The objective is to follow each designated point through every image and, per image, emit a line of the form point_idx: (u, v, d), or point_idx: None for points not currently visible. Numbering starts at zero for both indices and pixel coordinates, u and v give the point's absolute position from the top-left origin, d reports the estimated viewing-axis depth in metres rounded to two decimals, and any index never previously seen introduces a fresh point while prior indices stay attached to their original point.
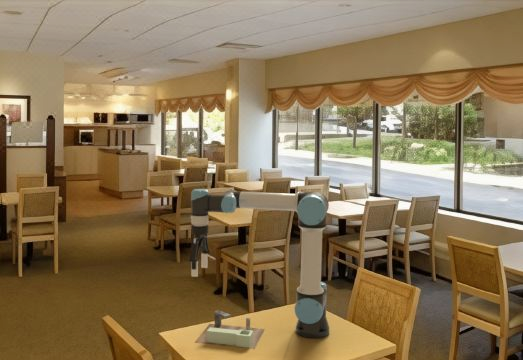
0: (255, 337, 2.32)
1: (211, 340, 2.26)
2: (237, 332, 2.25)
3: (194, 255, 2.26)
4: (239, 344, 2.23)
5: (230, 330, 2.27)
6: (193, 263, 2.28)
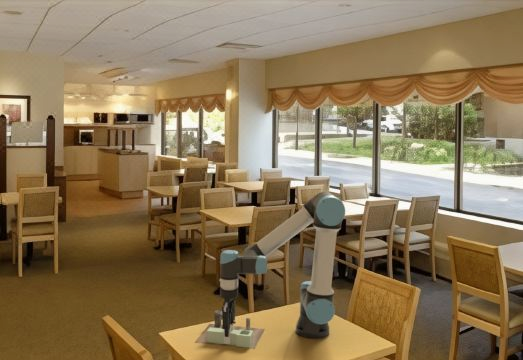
0: (255, 337, 2.32)
1: (211, 340, 2.26)
2: (237, 332, 2.25)
3: (226, 324, 2.20)
4: (239, 344, 2.23)
5: None
6: (226, 330, 2.22)
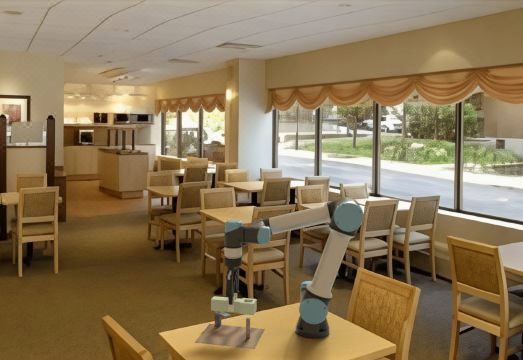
0: (255, 337, 2.32)
1: (215, 309, 2.31)
2: (241, 300, 2.30)
3: (230, 291, 2.24)
4: (243, 312, 2.27)
5: None
6: (230, 298, 2.27)
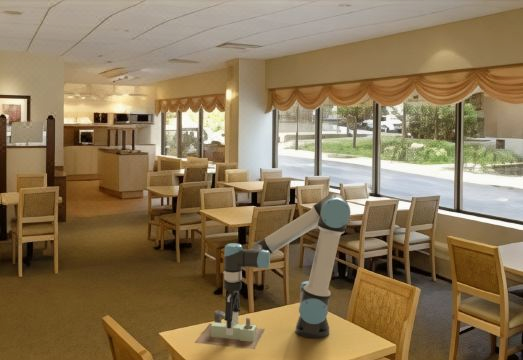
0: None
1: (215, 335, 2.32)
2: (241, 327, 2.31)
3: (229, 315, 2.24)
4: (243, 338, 2.29)
5: (234, 325, 2.33)
6: (228, 322, 2.26)
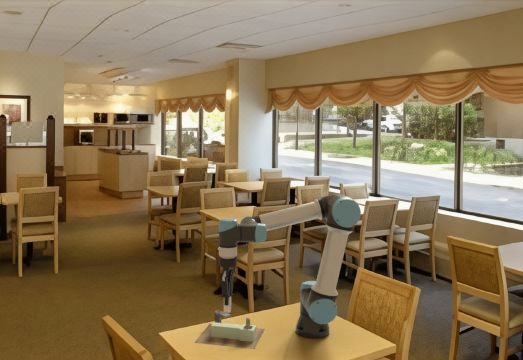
0: None
1: (215, 335, 2.32)
2: (241, 327, 2.31)
3: (226, 292, 2.17)
4: (243, 338, 2.29)
5: (234, 325, 2.33)
6: (226, 299, 2.20)
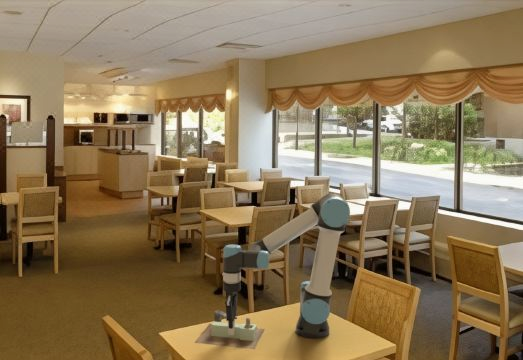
0: None
1: (215, 334, 2.33)
2: (241, 326, 2.32)
3: (230, 316, 2.25)
4: (243, 337, 2.29)
5: None
6: (230, 322, 2.28)
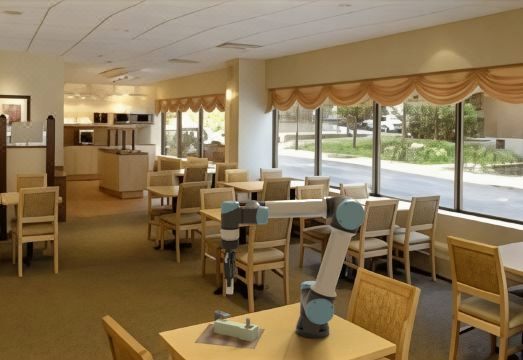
0: None
1: (218, 331, 2.36)
2: (242, 325, 2.33)
3: (228, 274, 2.20)
4: (242, 337, 2.30)
5: (236, 323, 2.35)
6: (228, 280, 2.22)
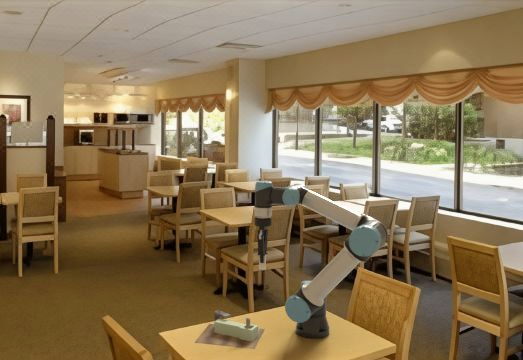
0: None
1: (218, 331, 2.36)
2: (242, 325, 2.33)
3: (262, 250, 2.31)
4: (242, 337, 2.30)
5: (236, 323, 2.35)
6: (261, 257, 2.33)
